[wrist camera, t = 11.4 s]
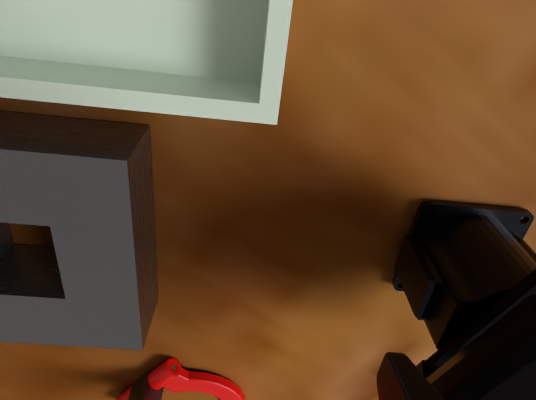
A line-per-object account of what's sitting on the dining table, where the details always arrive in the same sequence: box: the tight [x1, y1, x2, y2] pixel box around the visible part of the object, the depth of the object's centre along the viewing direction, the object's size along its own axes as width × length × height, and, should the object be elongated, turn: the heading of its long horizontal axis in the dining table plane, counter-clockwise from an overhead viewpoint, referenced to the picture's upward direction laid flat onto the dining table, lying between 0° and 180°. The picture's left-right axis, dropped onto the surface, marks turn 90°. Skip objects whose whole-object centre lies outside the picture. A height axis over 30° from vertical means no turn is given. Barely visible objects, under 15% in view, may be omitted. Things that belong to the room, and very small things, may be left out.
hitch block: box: [0, 111, 158, 350], centre depth 21 cm, size 12×12×4 cm
